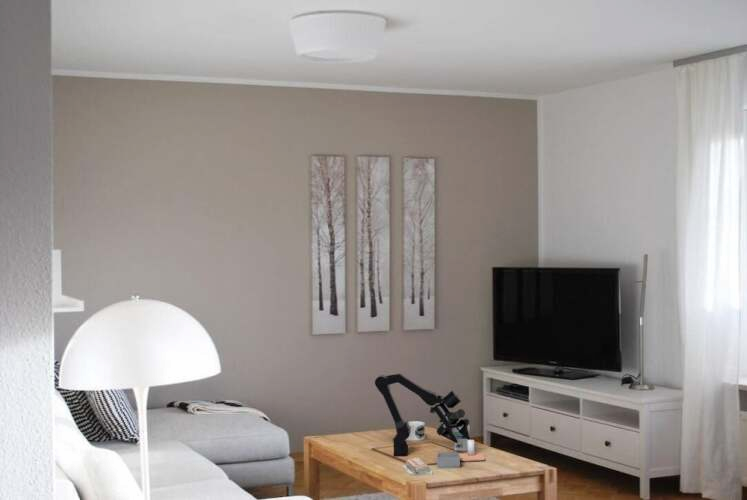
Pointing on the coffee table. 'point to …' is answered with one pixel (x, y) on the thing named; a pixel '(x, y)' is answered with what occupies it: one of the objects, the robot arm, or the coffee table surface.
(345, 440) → the coffee table surface
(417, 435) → the mug
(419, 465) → the packaged product
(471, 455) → the lid
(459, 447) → the light bulb box
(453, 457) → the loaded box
